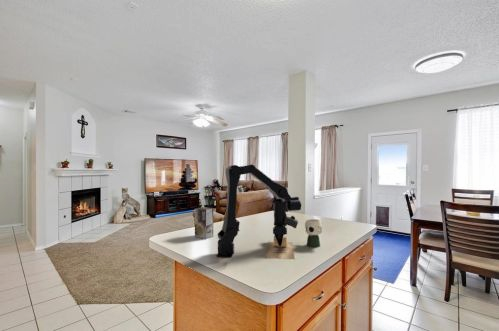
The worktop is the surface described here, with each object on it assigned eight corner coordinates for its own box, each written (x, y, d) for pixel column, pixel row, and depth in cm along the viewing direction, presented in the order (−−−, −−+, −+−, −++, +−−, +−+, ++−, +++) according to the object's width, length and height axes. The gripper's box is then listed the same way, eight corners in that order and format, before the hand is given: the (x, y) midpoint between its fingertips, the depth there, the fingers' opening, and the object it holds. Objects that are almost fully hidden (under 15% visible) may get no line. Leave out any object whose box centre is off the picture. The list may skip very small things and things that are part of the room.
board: (265, 260, 94) (265, 257, 94) (268, 243, 115) (268, 241, 115) (294, 261, 92) (294, 259, 92) (292, 244, 114) (292, 242, 114)
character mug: (300, 245, 112) (299, 219, 113) (310, 243, 116) (310, 217, 116) (316, 252, 103) (316, 223, 103) (327, 249, 106) (327, 221, 107)
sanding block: (273, 246, 107) (273, 238, 107) (274, 243, 111) (274, 235, 111) (286, 247, 106) (286, 238, 106) (286, 244, 110) (286, 236, 110)
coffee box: (213, 236, 129) (213, 208, 129) (206, 239, 123) (206, 209, 124) (202, 234, 133) (202, 206, 134) (194, 236, 128) (194, 208, 129)
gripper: (298, 215, 99) (298, 251, 98) (295, 208, 117) (295, 239, 117) (272, 215, 100) (273, 250, 100) (274, 208, 119) (274, 238, 118)
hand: (280, 244), depth 109 cm, fingers closed on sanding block, 4 cm apart
